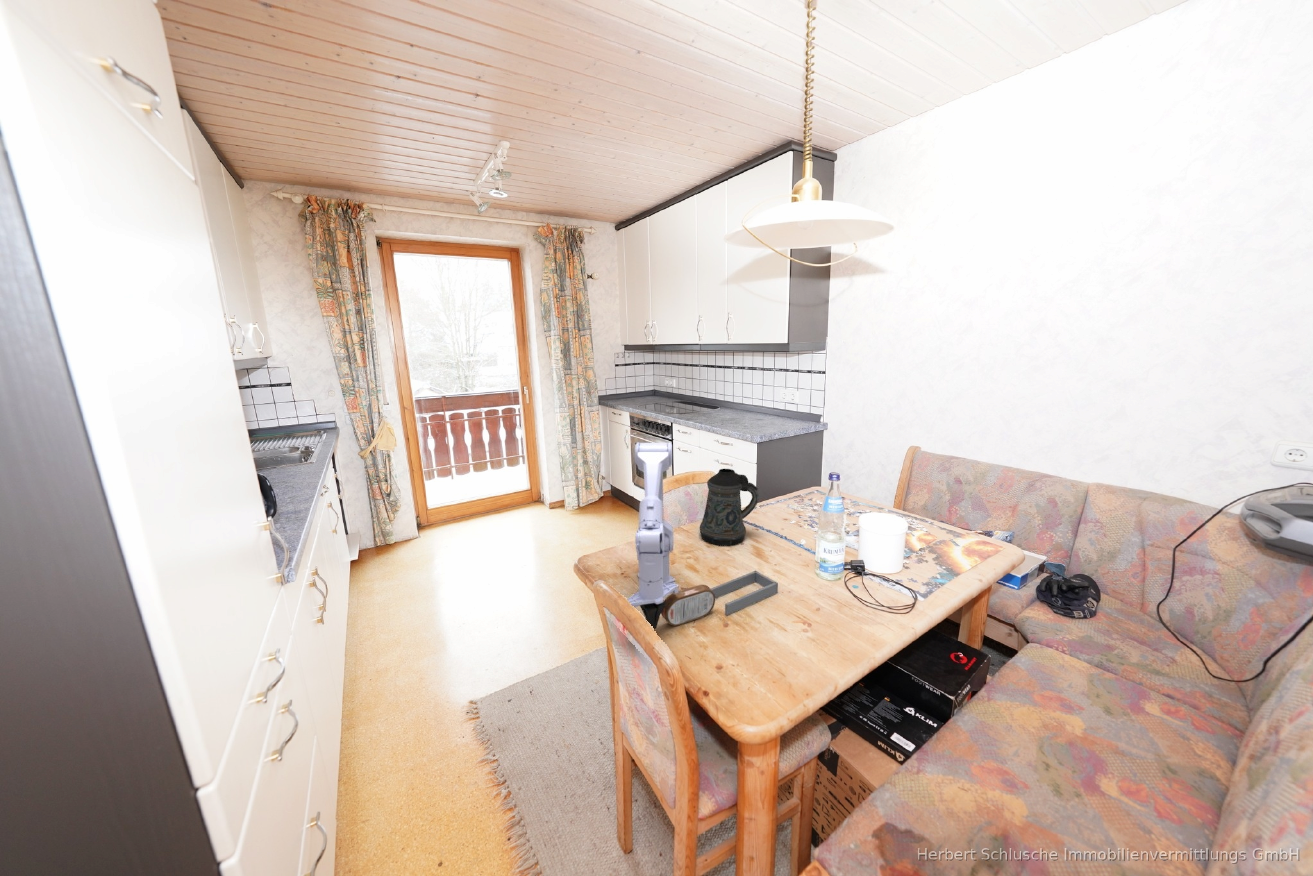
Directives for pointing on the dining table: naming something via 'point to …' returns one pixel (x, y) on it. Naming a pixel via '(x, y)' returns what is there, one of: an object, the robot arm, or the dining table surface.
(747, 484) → the beer stein
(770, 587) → the pocket
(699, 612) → the tin
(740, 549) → the dining table surface
